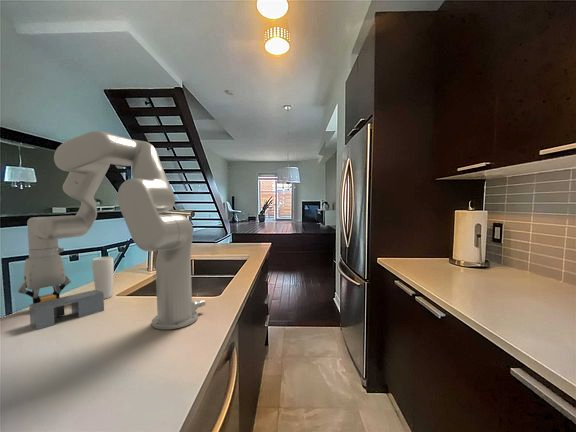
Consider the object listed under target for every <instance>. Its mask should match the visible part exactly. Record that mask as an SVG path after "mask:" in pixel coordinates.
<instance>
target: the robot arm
mask: <svg viewBox="0 0 576 432" xmlns="http://www.w3.org/2000/svg"><path fill="white" fill-rule="evenodd" d="M157 151H158V150H157V149H156V147H154V145H153V144H151V143H150V142H148V141H144V140H138V139H133V138H127V137H124V136H120V135H116V134H113V133H110V132H107V131H102V130H101V131H100V130H92V131H88V132H86V133H84V134H81V135H78V136H75V137H73V138H70V139H68V140H65V141H64V142H62V143H61V144H60V145H59V146H57V148H56V149H55V151H54V155H53V161H54V164H55V166H56V167H57V168H58V169H59V170H61V171H65V172H68V175H67V177H66V178H65V180H64V183H63V184H62V190H63V192H64V193H65V194H66V195H67V196H69V197H70V198H72V199H74V200H77V201H79V202H80V207H79V208H78V211H77V212H76V214H75V215H59V216H58V215H57V216H54V215H53V216H37V217H35V216H34V217H30V218H29V219H28V220H27V223H26V224H27V243H28V258H26V259H25V263H24V267H23V268H24V269H23V282H22V283H21V285H20V286H19V287H18V289H17V293H20V294H23V295H26V296H29V297H31V298H32V304H35V303H39V302H40V298H39V296H40V295H39V292H40V289H43V288H48V287H52V290H53V291H52V293H51V294H54V295H56V299H57V298H61V297H60V293H61V292H62V291H63V290H64V289H65V288H66V287H67V286H68V285H70V284H71V283H72V280H71V279H70V278H69V277H68V276H67V275H66V272H65V265H64V261H63V257H62V256H61V254H60V253H62V252H64V248H63V247H59V240H62V239H68V238H70V239H71V238H79V237H82V236H84V235H87V234H88V233H89V231H90V230H91V229H92V227H93V225H94V223H95V221H96V219H97V216H98V206H97V203H96V202H97V201H96V200H95V198H94V197H95V194H96V193H97V191H98V189H99V187H100V185H101V184H102V181H103V180H104V178H105V176H106V174H107V172H108V170H109V168H110V167H111V166H110V165H115V166H122V167H131V175H132V177H133V178H132V177H131V178H129V179H127V180H125V181H124V182H122V183H121V185H120V186H119V188H118V192H117V204H118V206H119V209H120V212H121V215H122V217H123V219H124V222H125V224H126V226H127V229H128V232H129V234H130V236H131V239H132V240H133V242H134V244H135V245H136V246H137V247H138V248H139V249H140V250H142V251H144V252H156V251H157V254H156V259H155V283H156V285H155V286H156V307H157V308H156V311H157V315H156V316H154V317H153V318H152V320H151V326H152V327H153V328H155V329H157V330H175V329H180V328H184V327H187V326H189V325H191V324H193V323H195V322H196V321H197V320H198V317H199V313H198V312H197V310H198V309H199V308H202V307H204V306H206V301H205V299H202V300H199V301H197V300H193V297H192V296H193V295H192V265H191V264H192V263H191V262H192V261H191V260H192V259H191V258H192V256H191V255H192V254H191V253H192V245H193V244H192V243H193V237H194V228H193V225H192V223H191V221H190V220H189V219H188V217H186V216H185V215H182V214H178V213H177V214H176V213H170V214H169V213H167V214H166V213H165V212H168V211H170V210H171V209H173V208H174V206H175V203H176V197H175V194H174V191H173V189H172V186H171V184H170V182H169V179H168V177H167V175H166V172H165V171H164V167H163V166H162V162H161V160H160V157H159V154H158V152H157ZM159 213H163V214H159ZM164 213H165V214H164ZM26 288H27V289H28V290H27V289H26ZM30 290H31V291H30Z"/></svg>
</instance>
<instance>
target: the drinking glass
mask: <svg viewBox="0 0 576 432" xmlns="http://www.w3.org/2000/svg"><path fill="white" fill-rule="evenodd" d="M114 261H115V260H114V257H113V256H100V257H99V256H98V257H94V258H92V261H91V265H92V267H91V268H92V275H93V276H92V277H93V282H94V290H98V291H101V292H103V295H104V300H106V298H107V299H110V298H112V297H113V294H114V290H113V289H114V288H113V287H114V273H115V272H114V271H115V270H114V269H115V262H114Z"/></svg>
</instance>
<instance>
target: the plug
mask: <svg viewBox="0 0 576 432" xmlns="http://www.w3.org/2000/svg"><path fill="white" fill-rule="evenodd" d="M38 296H39V298H40V302H43V301H48V300H52V299H56V295H54V294H52V293H48V294H44V295H38ZM65 313H66V312H65V305H63V306H59V307H55V308H54V317H56V318H58V317H62V316H65V315H66V314H65Z"/></svg>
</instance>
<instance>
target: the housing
mask: <svg viewBox="0 0 576 432" xmlns="http://www.w3.org/2000/svg"><path fill="white" fill-rule="evenodd" d="M104 300H105V299H104V295H103V292H101V291H98V290H95V289H93V290H89V291H84V292H79V293H75V294H71V295H66V296H61V297H60V298H57V299H52V300H48V301H43V302H39V303H35V304H33V303H31V304H29V305H28V306H29V320H30V321H29V322H30V326H31V327H32V328H33V329H35V330H36V331H37V330H40V329H44V328H48V327H51V326H55V316H54V308H55V307H59V306H63V305H64V306H66V305H70V304H71V314H72V315H74V316H75V317H77V318H82V317H85V316H89V315H93V314H96V313H99V312H100V313H101V312H103V311H105V301H104Z"/></svg>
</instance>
